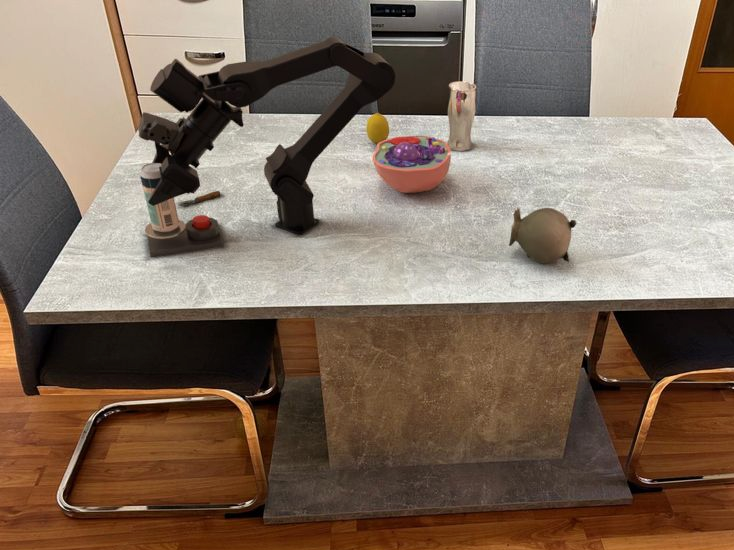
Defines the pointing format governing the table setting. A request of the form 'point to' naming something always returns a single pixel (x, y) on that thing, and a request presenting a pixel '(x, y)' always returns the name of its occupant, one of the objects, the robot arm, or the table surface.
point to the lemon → (377, 128)
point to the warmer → (187, 240)
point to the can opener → (202, 198)
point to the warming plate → (163, 235)
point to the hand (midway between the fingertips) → (148, 192)
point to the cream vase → (461, 114)
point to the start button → (201, 222)
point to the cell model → (412, 162)
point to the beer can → (161, 213)
